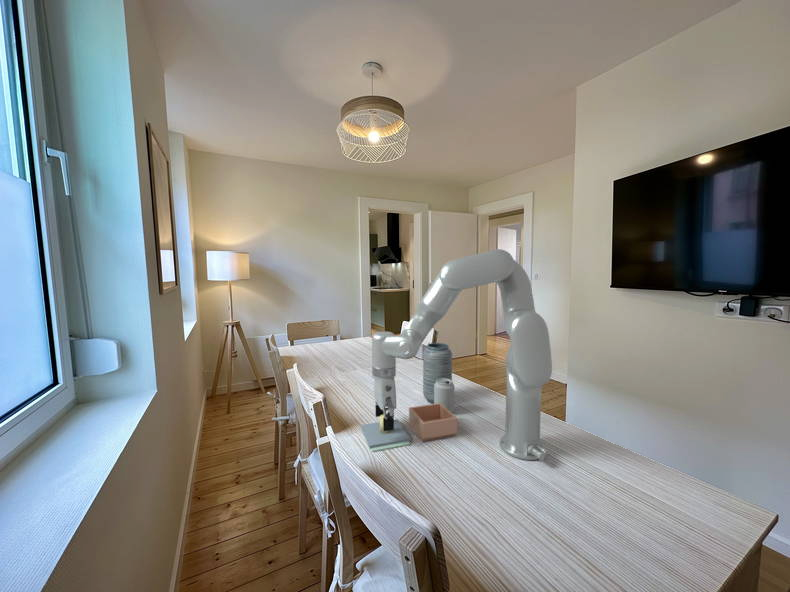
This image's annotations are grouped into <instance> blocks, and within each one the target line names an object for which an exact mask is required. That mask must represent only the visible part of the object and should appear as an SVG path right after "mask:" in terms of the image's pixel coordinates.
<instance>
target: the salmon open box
mask: <svg viewBox="0 0 790 592" xmlns="http://www.w3.org/2000/svg"><path fill="white" fill-rule="evenodd" d="M408 425H409V426H410V428H411V427H412V428H411V429H412V431H413V432H414V431H415V432H414V433H415V435H416V436H417V437H418V438H419V440H420V441H421V443H427V442H433V441H437V440H438V441H439V440H442V439H443V440H444V439H449V438H455V437H458V417H457V416H456V415H455V414H454V413H453V412H452V413H451V412H450V411H449V410H448V409H447V408H446V407H445V406H443V405H442V404H441V403H436V404H431V403H429V404H424V405H418V406H416V405H415V406H410V407H408Z"/></svg>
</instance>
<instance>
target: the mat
mask: <svg viewBox="0 0 790 592" xmlns="http://www.w3.org/2000/svg"><path fill="white" fill-rule="evenodd" d="M371 423H372V422H371ZM371 423H369V424H371ZM410 442H411V441H407V442H401V443H396V444H390V445H385V446H380V447H374V448H370V450H371V452H372V453H374V452H380V451H385V450H391V449H394V448H402V447H406V446H410V445H411V444H412V443H410Z"/></svg>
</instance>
